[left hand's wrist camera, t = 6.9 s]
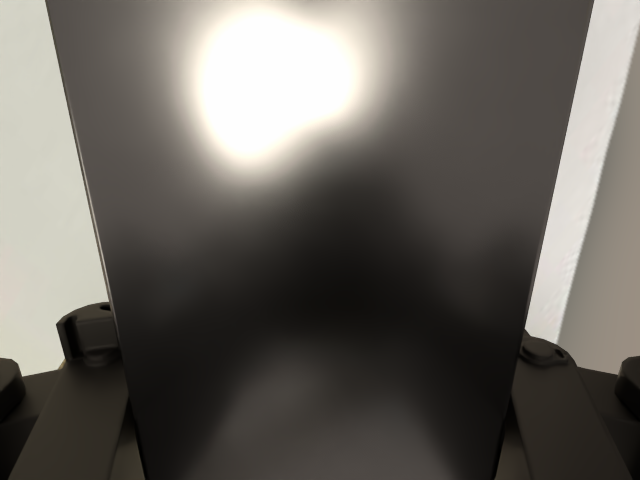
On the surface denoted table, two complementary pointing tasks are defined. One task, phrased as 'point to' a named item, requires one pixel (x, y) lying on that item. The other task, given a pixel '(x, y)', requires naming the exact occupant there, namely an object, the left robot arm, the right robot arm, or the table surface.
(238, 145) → the bar
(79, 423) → the left robot arm
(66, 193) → the table surface
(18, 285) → the table surface
